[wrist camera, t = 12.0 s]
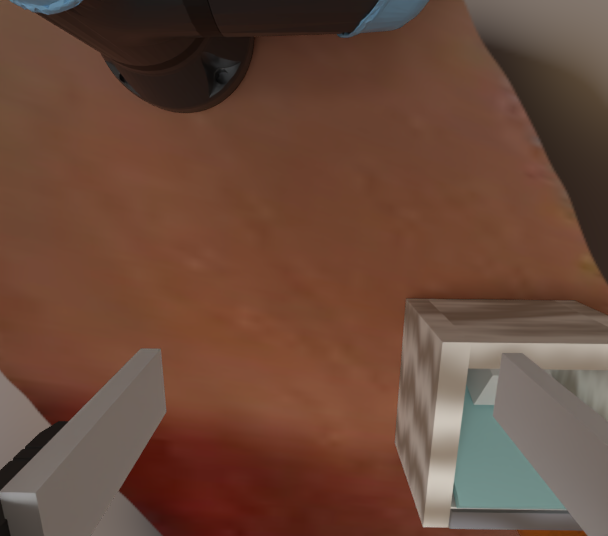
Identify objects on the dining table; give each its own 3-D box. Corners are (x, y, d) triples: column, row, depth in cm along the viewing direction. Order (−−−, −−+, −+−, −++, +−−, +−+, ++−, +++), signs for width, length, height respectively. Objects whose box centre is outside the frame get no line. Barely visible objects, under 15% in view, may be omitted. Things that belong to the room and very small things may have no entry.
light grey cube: (457, 358, 45) (472, 328, 41) (505, 359, 45) (525, 328, 41) (473, 404, 41) (492, 375, 37) (527, 405, 41) (552, 376, 37)
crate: (406, 298, 43) (444, 344, 31) (574, 300, 43) (678, 346, 31) (394, 442, 48) (424, 530, 36) (546, 444, 48) (627, 533, 36)
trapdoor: (426, 372, 45) (428, 369, 44) (540, 374, 45) (544, 370, 44) (456, 508, 35) (460, 506, 35) (600, 509, 35) (607, 508, 35)
